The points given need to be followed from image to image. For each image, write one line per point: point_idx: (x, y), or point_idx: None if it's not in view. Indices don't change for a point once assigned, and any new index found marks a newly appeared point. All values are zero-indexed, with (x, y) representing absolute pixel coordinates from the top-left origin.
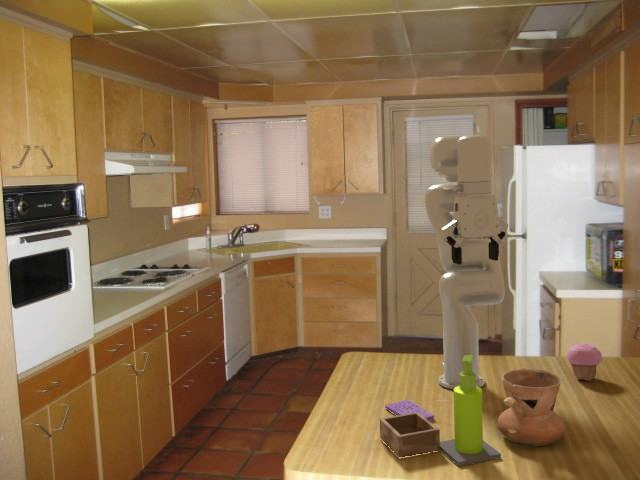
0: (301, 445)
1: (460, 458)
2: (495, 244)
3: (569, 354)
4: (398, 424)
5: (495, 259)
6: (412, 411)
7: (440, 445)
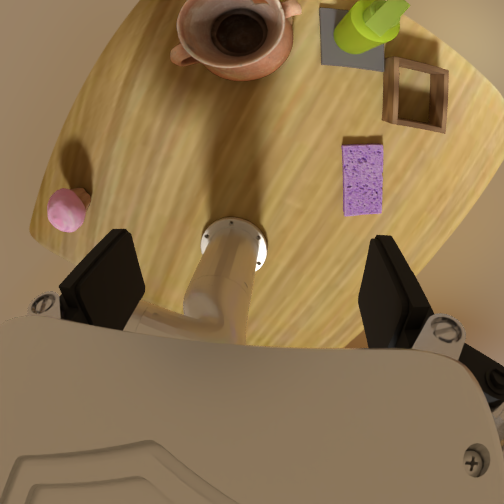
0: (496, 166)
1: None
2: (75, 295)
3: (79, 216)
4: (418, 122)
5: (126, 233)
6: (362, 174)
7: (382, 61)
